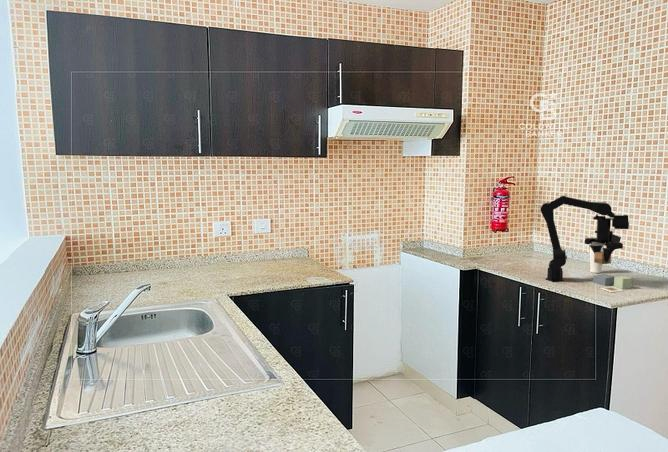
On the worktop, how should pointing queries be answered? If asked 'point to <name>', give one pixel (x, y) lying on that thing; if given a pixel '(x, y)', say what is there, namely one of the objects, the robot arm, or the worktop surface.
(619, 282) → the sage block
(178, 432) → the worktop surface
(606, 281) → the slate base block
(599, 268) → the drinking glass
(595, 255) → the walnut block
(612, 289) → the card
